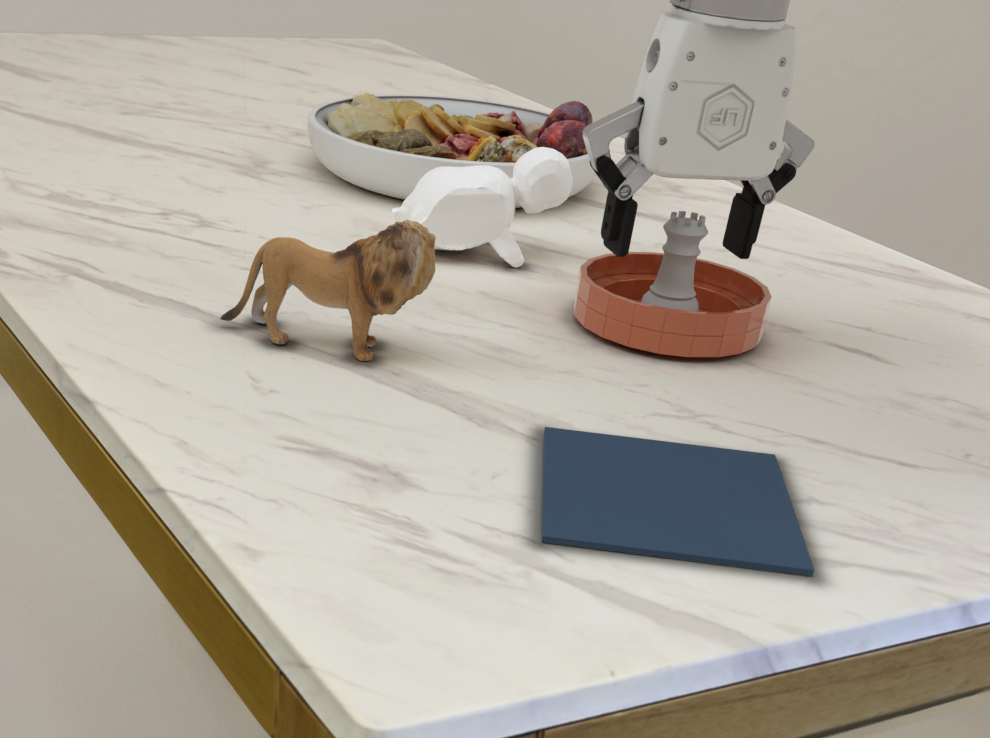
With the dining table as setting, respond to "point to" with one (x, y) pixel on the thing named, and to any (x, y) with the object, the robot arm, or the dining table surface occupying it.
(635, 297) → the terracotta bowl
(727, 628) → the dining table surface
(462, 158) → the bowl
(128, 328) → the dining table surface
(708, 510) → the dark blue square mat
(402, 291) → the lion figurine
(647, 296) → the rook chess piece
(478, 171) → the white animal figurine
